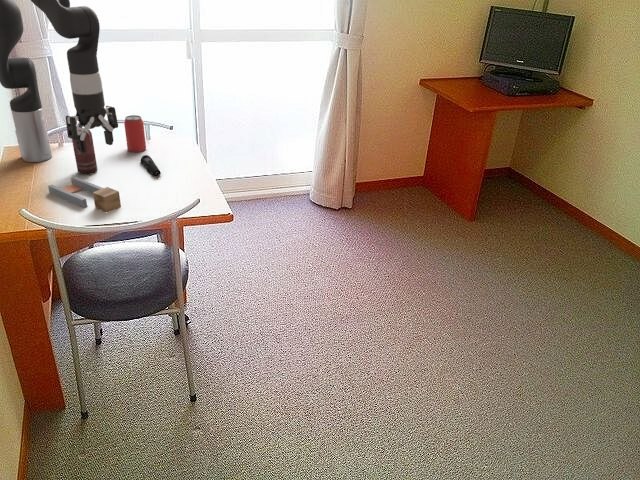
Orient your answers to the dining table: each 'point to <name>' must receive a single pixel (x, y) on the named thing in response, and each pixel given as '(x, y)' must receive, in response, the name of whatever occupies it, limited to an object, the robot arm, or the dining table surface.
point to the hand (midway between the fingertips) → (96, 148)
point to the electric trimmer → (150, 165)
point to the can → (86, 156)
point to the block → (107, 199)
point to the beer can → (135, 133)
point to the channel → (76, 186)
